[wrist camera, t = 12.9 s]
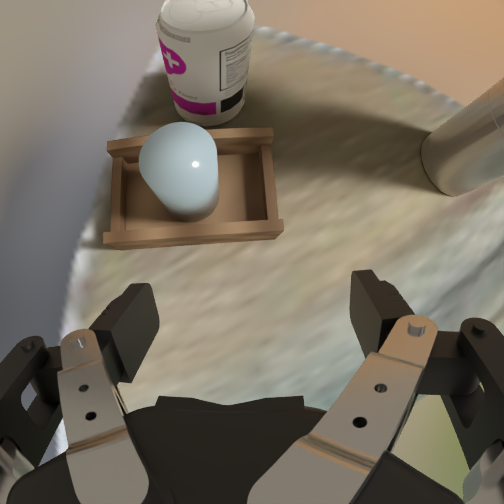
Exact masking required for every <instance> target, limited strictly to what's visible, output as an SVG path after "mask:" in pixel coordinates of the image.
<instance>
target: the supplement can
mask: <svg viewBox="0 0 504 504" xmlns="http://www.w3.org/2000/svg"><path fill="white" fill-rule="evenodd" d="M248 4H249V3H248V1H247V0H166V1H165V2H164V4H163V6H162V9H161V12H160V14H159V16H158V19H157V22H156V29H157V34H158V38H159V42H160V47H161V51H162V55H163V59H164V64H165V68H166V72H167V76H168V80H169V84H170V88H171V92H172V96H173V100H174V104H175V108H176V111H177V112H178V113H179V115H180V116H181V117H182V118H183V119H184V120H186V121H188V122H190V123H192V124H195V125H201V126H214V125H220V124H222V123H224V122H227V121H229V120H231V119H232V118H233V117H234V116H236V115H237V114H238V113H239V112H240V110H241V108H242V106H243V104H244V101H245V92H246V84H247V76H248V68H249V60H250V52H251V44H252V37H253V29H254V17H255V15H254V13H253V11H252V10H251V8H250V6H249V5H248Z"/></svg>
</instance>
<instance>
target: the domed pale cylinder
mask: <svg viewBox="0 0 504 504" xmlns="http://www.w3.org/2000/svg"><path fill="white" fill-rule="evenodd" d="M139 169H140V172H141V175H142V177H143V178H144V180H145V181H146V183H147V184H148V185H149V187H150V188H151V189H152V191H153V192H154V193H155V195H156V196H157V197H158V198H159V200H160V201H161V202H162V204H163V205H164V206H165V207H166V209H167V210H168V211H169V213H170V214H171V215H172V216H173V217H175V218H176V219H178V220H180V221H183V222H188V223H193V222H198V221H201V220H204V219H205V218H207V217H208V216H210V215H211V214H212V213H213V211H214V210H215V209H216V207H217V205H218V202H219V180H218V163H217V149H216V145H215V142H214V140H213V138H212V137H211V135H210V134H209V133H208V132H207V131H206V130H204V129H203V128H202V127H200V126H198V125H195V124H192V123H188V122H175V123H171V124H167V125H165V126H162V127H160V128H159V129H157V130H156V131H154V132H153V133H152V134H151V135H150V136H149V137H148V138H147V140H146V141H145V142H144V144H143V146H142V148H141V151H140V155H139Z"/></svg>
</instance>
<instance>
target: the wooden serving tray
mask: <svg viewBox="0 0 504 504" xmlns="http://www.w3.org/2000/svg"><path fill="white" fill-rule="evenodd" d="M206 131H207V132H208V133H209V134H210V135H211V137H212V138H213V140H214V142H215V145H216V149H217V163H218V180H219V202H218V205H217V207H216V209H215V210H214V211H213V213H212V214H211V215H210V216H208V217H207V218H205V219H204V220H201V221H198V222H193V223H188V222H183V221H180V220H178V219H176V218H175V217H173V216H172V215H171V214H170V213H169V211H168V210H167V209H166V207H165V206H164V205H163V204H162V202H161V201H160V200H159V198H158V197H157V196H156V195H155V193H154V192H153V191H152V189H151V188H150V187H149V185H148V184H147V183H146V181H145V180H144V178H143V177H142V175H141V172H140V169H139V155H140V151H141V148H142V146H143V144H144V142H145V141H146V140H147V138H148V137H149V136H150V135H148V136H140V137H133V138H126V139H119V140H113V141H108V142H107V151H108V153H109V154H110V155H111V156H112V157H113V168H112V186H111V232H103V244H106V245H109V246H111V247H114V248H117V249H120V250H130V249H143V248H156V247H170V246H184V245H198V244H212V243H227V242H241V241H257V240H272V239H276V238H277V237H278V236H279V235H280V234H281V233H282V232H283V231H284V225H283V219H279V218H278V207H277V197H276V187H275V177H274V168H273V159H272V150H271V144H272V141H273V138H274V132H273V127H256V128H229V129H211V130H206Z"/></svg>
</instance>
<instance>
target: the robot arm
mask: <svg viewBox="0 0 504 504" xmlns="http://www.w3.org/2000/svg"><path fill="white" fill-rule="evenodd" d="M421 157H422V163H423V166H424V169H425V171H426V173H427V175H428V177H429V178H430V180H431V181H432V183H433V184H434V185H435V186H436V187H437V188H438V189H439V190H440V191H441V192H443V193H445V194H447V195H450V196H459V195H462V194H464V193H466V192H469V191H471V190H474V189H476V188H479V187H481V186H483V185H486V184H488V183H491V182H493V181H495V180H498V179H500V178H502V177H504V78H503V79H501V80H500V81H499V82H498V83H496V84H495V85H494V86H492V87H491V88H490V89H489V90H487V91H486V92H485V93H484V94H482V95H481V96H480V97H478V98H477V99H476V100H474V101H473V102H472V103H471V104H469V105H468V106H467V107H465V108H464V109H463V110H461V111H460V112H459V113H457V114H456V115H455V116H454V117H452V118H451V119H450V120H448V121H447V122H446V123H444V124H443V125H442V126H440V127H439V128H438V129H436V130H435V131H434V132H432V133H431V134H430V135H429V136H427V137H426V138H425V139H424V141H423V143H422V147H421ZM350 319H351V322H352V325H353V328H354V330H355V333H356V335H357V338H358V340H359V343H360V345H361V348H362V351H363V353H364V356H365V361H364V362H363V363H362V365H361V366H360V368H359V369H358V371H357V372H356V374H355V375H354V376H353V378H352V379H351V381H350V382H349V383H348V385H347V386H346V387H345V389H344V390H343V392H342V393H341V394H340V396H339V397H338V398H337V400H336V401H335V402H334V403H333V405H332V406H331V407H330V409H329V410H328V411H325V410H322V409H318V408H313V407H307V406H304V399H303V396H293V397H275V398H263V399H259V400H254V401H249V402H244V403H239V404H234V405H221V404H216V403H212V402H207V401H203V400H199V399H195V398H185V397H168V396H159V397H158V399H157V402H156V404H155V406H150V407H145V408H141V409H138V410H135V411H133V412H130V413H129V412H128V410H127V408H126V405H125V403H124V401H123V398H122V396H121V393H120V391H119V389H118V387H117V384H118V383H119V382H124V383H132V381H133V379H134V377H135V375H136V373H137V371H138V369H139V367H140V365H141V363H142V361H143V359H144V357H145V355H146V353H147V351H148V349H149V348H150V346H151V344H152V342H153V340H154V338H155V336H156V334H157V332H158V330H159V315H158V311H157V307H156V303H155V299H154V295H153V291H152V288H151V286H150V284H149V283H136V284H130V285H129V287H128V288H127V289H126V290H125V291H124V292H123V294H122V295H120V296H119V297H117V298H116V299H114V300H113V301H111V303H110V304H109V305H108V306H107V307H106V309H105V310H104V311H103V312H102V313H101V315H99V317H98V318H97V319H96V320H95V321H94V323H93V324H92V325H91V326H90V327H89V329H80V330H76V331H73V332H71V333H69V334H68V335H66V336H65V337H64V338H63V339H62V341H61V343H60V346H56V347H49V348H47V347H46V345H45V343H44V341H43V338H42V337H39V336H31V337H28V338H25V339H23V340H22V341H20V342H19V343H18V344H17V345H16V346H15V347H14V348H13V349H12V350H11V352H10V353H9V354H8V355H7V356H6V357H5V358H4V360H3V361H2V362H1V363H0V504H504V336H503V335H502V333H501V332H500V331H499V330H498V329H497V327H496V326H495V325H494V324H493V323H491V322H489V321H487V320H485V319H481V318H469V319H466V320H464V321H463V322H462V324H461V327H460V331H459V332H449V331H438V327H437V325H436V324H435V322H434V321H432V320H431V319H429V318H427V317H424V316H421V315H415V314H414V312H413V311H412V309H411V308H410V307H409V305H408V304H407V303H406V301H405V300H403V297H402V296H401V294H399V292H398V290H397V289H396V288H395V286H393V285H392V284H390V283H388V282H387V281H385V280H384V281H379V279H378V278H377V276H376V275H375V274H374V272H373V271H372V270H359V271H353V272H352V275H351V292H350ZM29 382H30V383H31V385H32V387H33V388H34V390H35V392H36V393H37V396H36V397H35V399H34V400H33V402H32V403H31V405H30V406H29V408H28V410H27V411H26V410H25V409H24V407H23V406H22V403H21V394H22V392H23V391H24V389H25V388H26V386H27V385H28V384H29ZM480 382H481V383H482V385H483V388H484V392H485V393H484V392H483V390H482V388H481V386H480V385H479V383H480ZM419 394H427V395H440V396H441V398H442V400H443V403H444V405H445V407H446V410H447V412H448V414H449V417H450V419H451V422H452V424H453V427H454V429H455V432H456V434H457V437H458V439H459V442H460V445H461V447H462V450H463V452H464V455H465V458H466V461H467V464H468V467H469V469H470V471H469V473H468V474H467V475H466V477H465V479H464V482H463V495H464V496H463V500H462V499H461V498H460V497H459V496H458V495H456V494H455V493H453V492H452V491H450V490H449V489H447V488H445V487H444V486H442V485H440V484H439V483H437V482H435V481H434V480H432V479H431V478H429V477H427V476H426V475H424V474H423V473H421V472H420V471H418V470H416V469H415V468H413V467H412V466H410V465H409V464H407V463H405V462H404V461H403V460H401V459H400V458H398V457H397V456H395V455H394V454H392V451H393V449H394V447H395V445H396V443H397V441H398V439H399V437H400V435H401V432H402V430H403V428H404V426H405V424H406V422H407V420H408V418H409V416H410V413H411V411H412V409H413V407H414V404H415V402H416V400H417V397H418V395H419ZM62 418H63V420H64V425H65V430H66V435H67V440H68V446H69V447H68V449H67V450H66V451H65V452H63V453H62V454H60V455H58V456H57V457H55V458H53V459H51V460H50V461H48V462H46V463H44V464H42V465H41V466H39V467H38V465H39V463H40V461H41V459H42V457H43V455H44V453H45V451H46V449H47V447H48V445H49V443H50V441H51V439H52V437H53V435H54V433H55V431H56V429H57V428H58V426H59V424H60V422H61V420H62Z"/></svg>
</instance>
